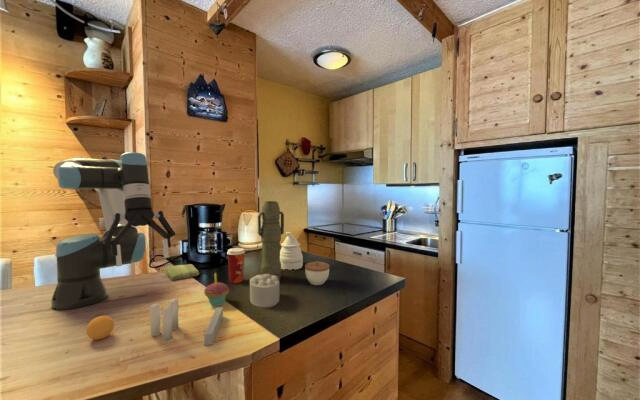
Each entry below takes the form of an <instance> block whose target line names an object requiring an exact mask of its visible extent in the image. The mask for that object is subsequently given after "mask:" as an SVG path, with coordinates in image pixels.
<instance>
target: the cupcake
mask: <svg viewBox="0 0 640 400" xmlns="http://www.w3.org/2000/svg"><path fill="white" fill-rule="evenodd" d="M203 293H204V294H203V295H205V297H206V298H207V299H208V300H209V301H208V302H209V304H210V305H211V306H220V305H223V304H224V303H225V301H226V297H227V295H228V294H229V293H230V286H229V285H228V284H227V283H224V282H219V281H218V280H217V272H216V271H215V272H214V282H213V283H211V284H209V285H207V286H206V287H205V289H204V292H203Z"/></svg>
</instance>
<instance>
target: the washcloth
mask: <svg viewBox="0 0 640 400" xmlns="http://www.w3.org/2000/svg"><path fill="white" fill-rule="evenodd" d="M164 274H165V275H166V277H168V279H169V280H170V281H177V280H182V279H187V278H194V277H199V275H200V271H199V270H198V269H197V268H196V267H195V266H194V265H193V264H191V263H188V264H177V265H174V266H166V267H165V270H164Z"/></svg>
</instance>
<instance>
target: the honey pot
mask: <svg viewBox="0 0 640 400" xmlns="http://www.w3.org/2000/svg"><path fill="white" fill-rule="evenodd" d="M291 233H292V232H291V231H286V232H285V236H286V237H285V239H284V241H283V242H282V243H280V262H281V270H285V269H288V270H287V271H289V270H290V271H292V269H294V270H300V269H301V268H303V267H302V266H303V263H304V260H303V257H304V256H303V254H302V252H303V251H302V249H301V247H300V246H301V243H300V242H298V240H297V238H296V237H295V236H294V235H293V234H291Z"/></svg>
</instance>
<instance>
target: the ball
mask: <svg viewBox="0 0 640 400" xmlns="http://www.w3.org/2000/svg"><path fill="white" fill-rule="evenodd" d="M114 328H115V322H114V320H113V318H111V317H110V316H108V315H100V316H96V317H95V318H93V319H92V320H90V322H89V323H88V324H87V326H86V332H85V333H86V335H87V337H88V338H89V339H91V340H96V341H97V340H99V341H100V340H103V339H105V338H106V337H108V336H110V334H111V333H112V332H113V330H114Z"/></svg>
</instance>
